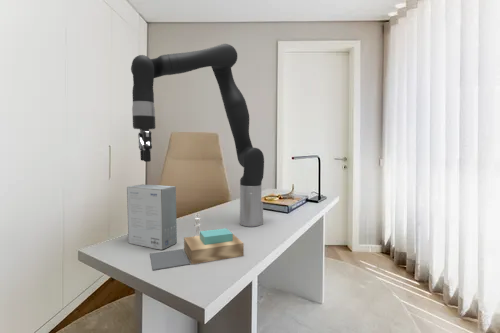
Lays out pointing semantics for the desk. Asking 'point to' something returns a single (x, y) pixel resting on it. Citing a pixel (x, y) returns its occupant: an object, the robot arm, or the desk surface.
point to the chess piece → (197, 225)
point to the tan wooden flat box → (212, 249)
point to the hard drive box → (152, 215)
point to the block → (216, 236)
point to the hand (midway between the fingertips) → (145, 161)
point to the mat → (168, 259)
